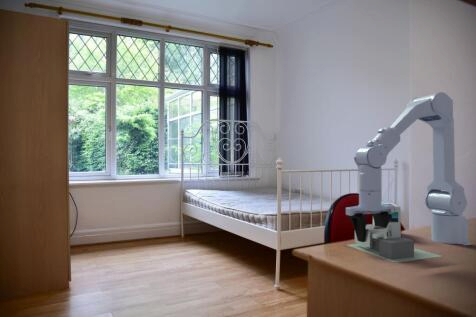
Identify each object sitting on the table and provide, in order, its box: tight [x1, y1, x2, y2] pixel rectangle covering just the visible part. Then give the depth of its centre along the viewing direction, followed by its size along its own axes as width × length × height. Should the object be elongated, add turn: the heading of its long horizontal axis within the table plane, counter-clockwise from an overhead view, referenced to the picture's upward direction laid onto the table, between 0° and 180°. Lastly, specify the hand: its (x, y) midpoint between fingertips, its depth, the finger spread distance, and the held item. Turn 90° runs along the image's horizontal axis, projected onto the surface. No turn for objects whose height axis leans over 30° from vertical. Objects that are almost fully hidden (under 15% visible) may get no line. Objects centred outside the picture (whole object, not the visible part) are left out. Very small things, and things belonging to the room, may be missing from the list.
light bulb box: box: [372, 201, 402, 239], centre depth 112 cm, size 11×7×11 cm, turn 168°
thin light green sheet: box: [346, 237, 443, 264], centre depth 93 cm, size 15×18×5 cm
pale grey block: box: [354, 223, 388, 248], centre depth 96 cm, size 6×6×5 cm
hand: (370, 240), depth 96 cm, fingers closed on pale grey block, 6 cm apart
